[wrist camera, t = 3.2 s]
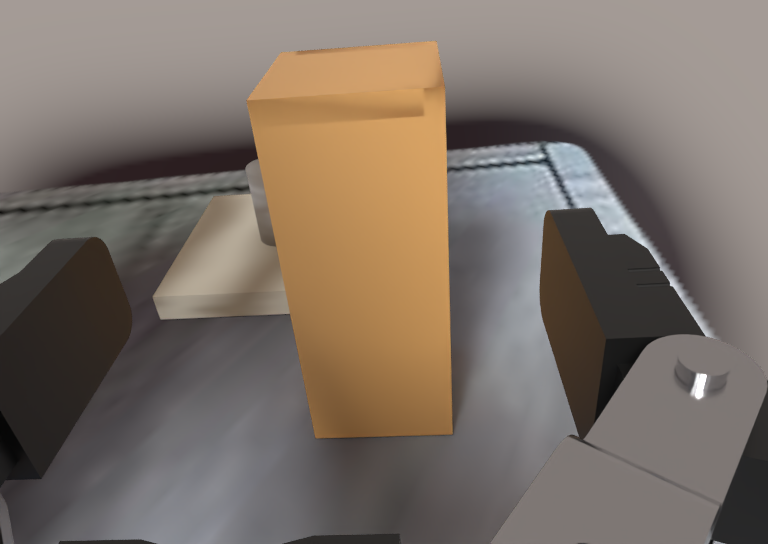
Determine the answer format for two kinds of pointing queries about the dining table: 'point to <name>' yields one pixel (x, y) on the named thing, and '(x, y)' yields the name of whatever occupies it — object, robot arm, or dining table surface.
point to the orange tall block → (362, 231)
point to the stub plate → (227, 261)
